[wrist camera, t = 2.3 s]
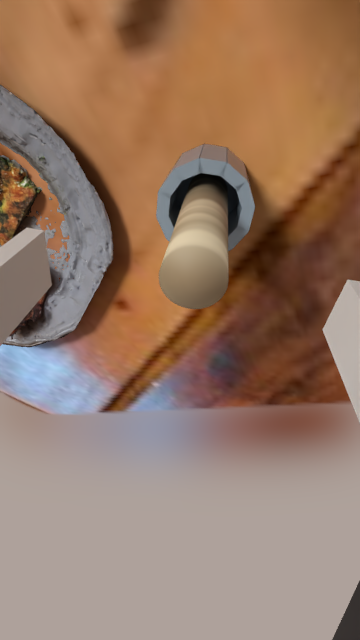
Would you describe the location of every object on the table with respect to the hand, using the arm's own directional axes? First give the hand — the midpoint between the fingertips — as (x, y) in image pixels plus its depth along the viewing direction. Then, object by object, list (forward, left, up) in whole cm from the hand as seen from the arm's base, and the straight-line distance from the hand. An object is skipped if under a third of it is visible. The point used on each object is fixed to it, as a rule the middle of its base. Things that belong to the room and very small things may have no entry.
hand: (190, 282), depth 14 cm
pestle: (0, 0, -13) cm, 13 cm away
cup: (0, 0, -14) cm, 13 cm away
